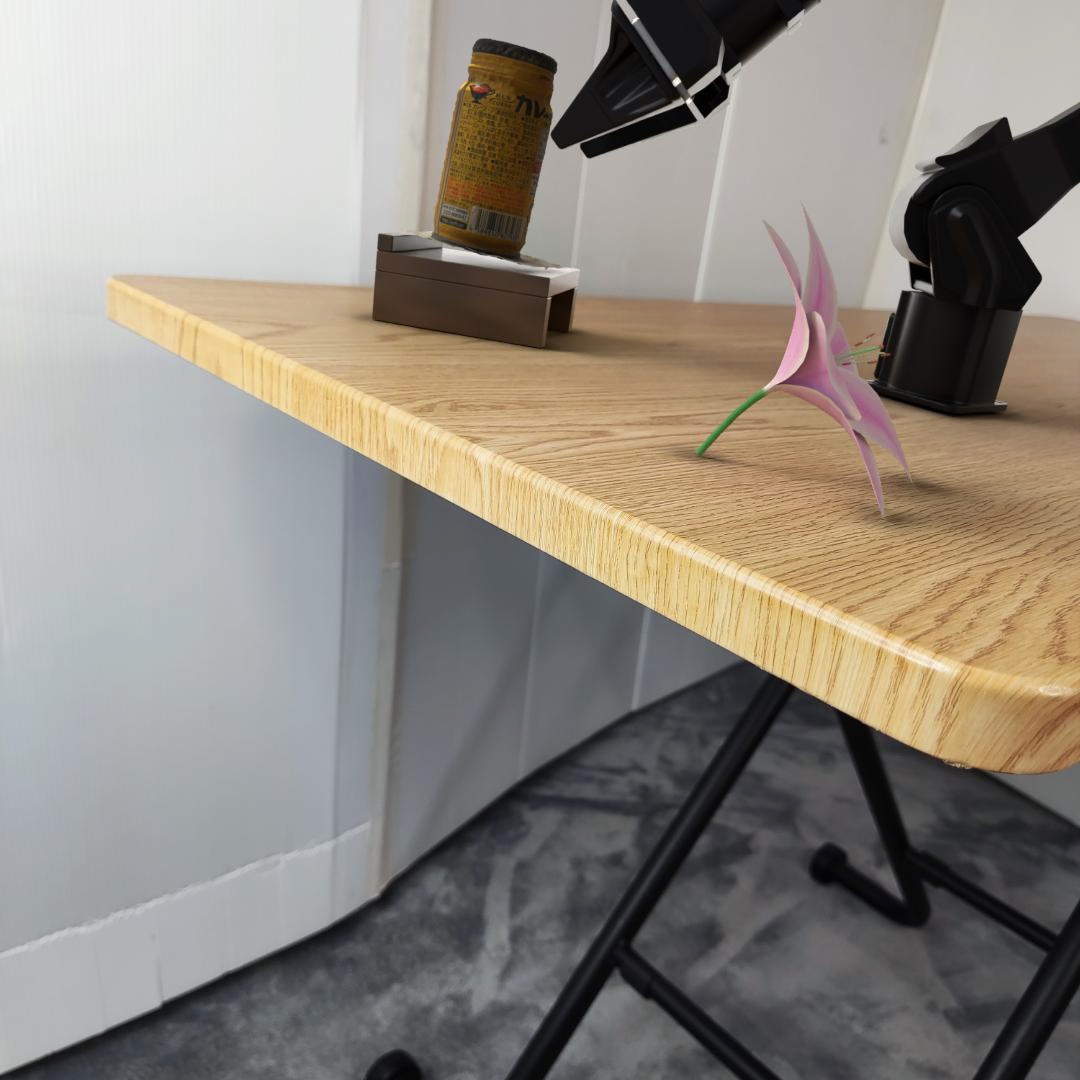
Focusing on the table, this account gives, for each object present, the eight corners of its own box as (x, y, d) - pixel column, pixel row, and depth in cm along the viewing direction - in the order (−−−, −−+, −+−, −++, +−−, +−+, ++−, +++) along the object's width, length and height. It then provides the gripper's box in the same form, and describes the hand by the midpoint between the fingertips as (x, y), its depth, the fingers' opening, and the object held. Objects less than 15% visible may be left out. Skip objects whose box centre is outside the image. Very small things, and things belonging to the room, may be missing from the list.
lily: (738, 563, 30) (973, 320, 26) (554, 346, 36) (723, 126, 33) (878, 599, 39) (1067, 422, 35) (712, 420, 45) (857, 255, 42)
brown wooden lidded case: (571, 330, 67) (582, 254, 65) (540, 348, 58) (552, 260, 56) (424, 305, 69) (431, 231, 67) (371, 319, 59) (377, 233, 58)
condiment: (463, 239, 66) (500, 51, 62) (567, 271, 63) (614, 75, 58) (399, 233, 60) (436, 23, 55) (512, 268, 56) (560, 48, 52)
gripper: (715, -114, 60) (527, 59, 66) (695, -246, 43) (443, 3, 49) (813, 37, 62) (620, 193, 67) (831, -33, 45) (571, 185, 50)
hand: (570, 148), depth 58 cm, fingers open, 9 cm apart
